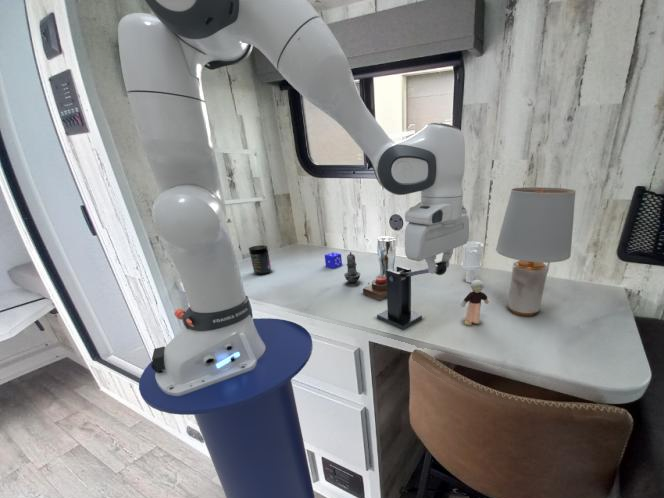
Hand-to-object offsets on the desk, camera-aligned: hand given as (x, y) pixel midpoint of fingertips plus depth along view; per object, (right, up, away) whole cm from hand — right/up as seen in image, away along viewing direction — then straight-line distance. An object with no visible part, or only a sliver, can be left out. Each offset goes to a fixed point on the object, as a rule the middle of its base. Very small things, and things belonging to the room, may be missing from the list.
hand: (438, 270), depth 72 cm
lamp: (+27, -10, +19) cm, 35 cm away
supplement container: (-65, +4, +52) cm, 83 cm away
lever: (-4, -2, +5) cm, 7 cm away
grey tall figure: (-26, -1, +40) cm, 48 cm away
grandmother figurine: (+11, -13, +13) cm, 22 cm away
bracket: (-9, -12, +15) cm, 22 cm away
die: (-37, +7, +59) cm, 70 cm away
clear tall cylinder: (+17, 0, +42) cm, 45 cm away
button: (-15, -1, +31) cm, 34 cm away
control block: (-15, -5, +32) cm, 36 cm away
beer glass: (-14, +2, +46) cm, 48 cm away
